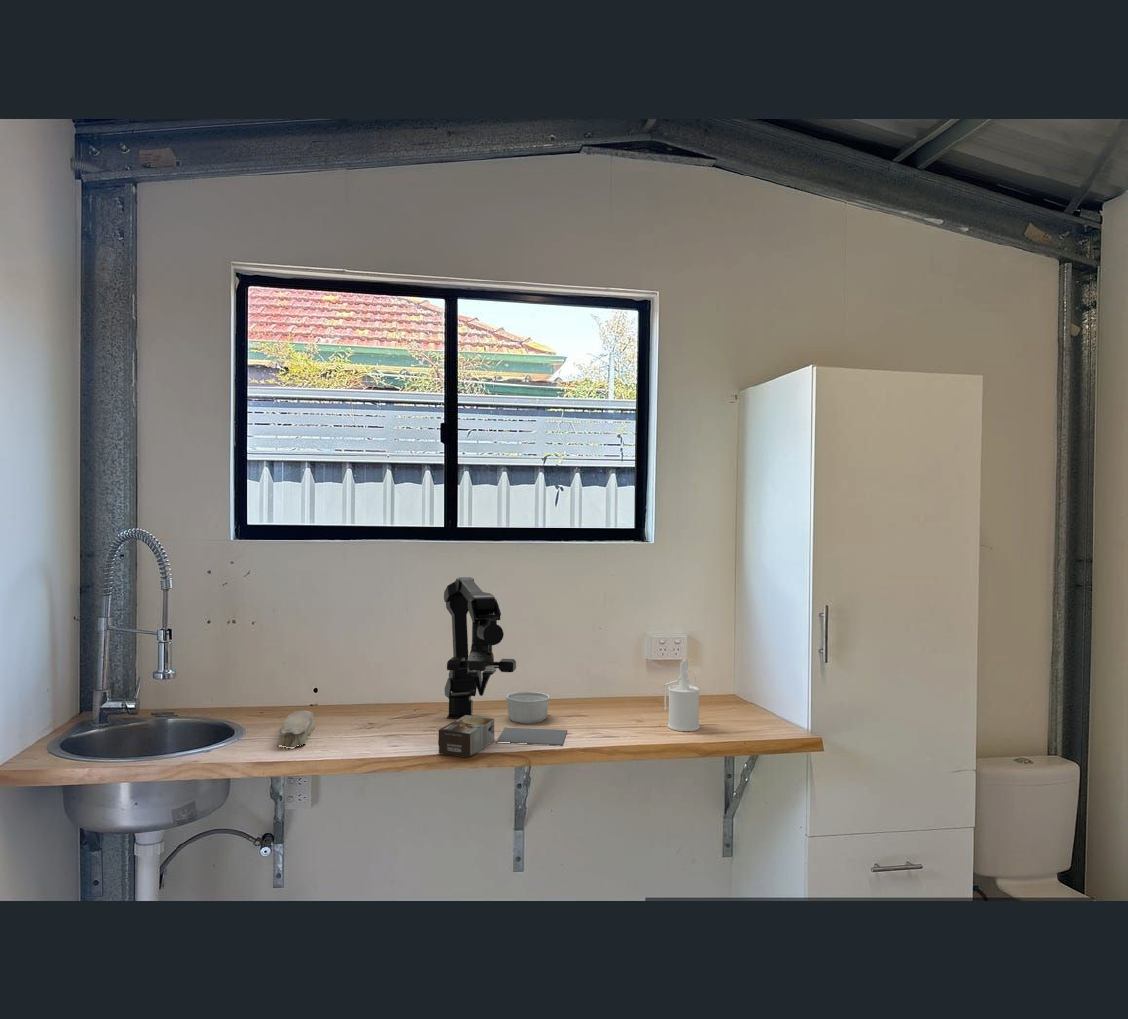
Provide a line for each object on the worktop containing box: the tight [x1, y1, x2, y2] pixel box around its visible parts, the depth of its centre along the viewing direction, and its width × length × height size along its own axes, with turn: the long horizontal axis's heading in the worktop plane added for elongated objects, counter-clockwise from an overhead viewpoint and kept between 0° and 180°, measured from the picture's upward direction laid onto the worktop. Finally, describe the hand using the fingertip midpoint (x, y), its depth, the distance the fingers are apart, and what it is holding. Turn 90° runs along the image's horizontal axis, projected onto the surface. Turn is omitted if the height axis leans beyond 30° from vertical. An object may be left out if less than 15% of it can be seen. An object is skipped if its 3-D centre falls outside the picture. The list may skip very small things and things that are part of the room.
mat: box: [495, 727, 568, 746], centre depth 216 cm, size 18×14×1 cm
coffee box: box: [437, 715, 496, 759], centre depth 206 cm, size 9×6×16 cm
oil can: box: [663, 658, 701, 733], centre depth 228 cm, size 10×9×20 cm
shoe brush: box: [278, 710, 315, 748], centre depth 214 cm, size 24×8×5 cm, turn 11°
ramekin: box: [505, 691, 551, 724], centre depth 235 cm, size 13×13×7 cm
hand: (481, 695), depth 218 cm, fingers closed
